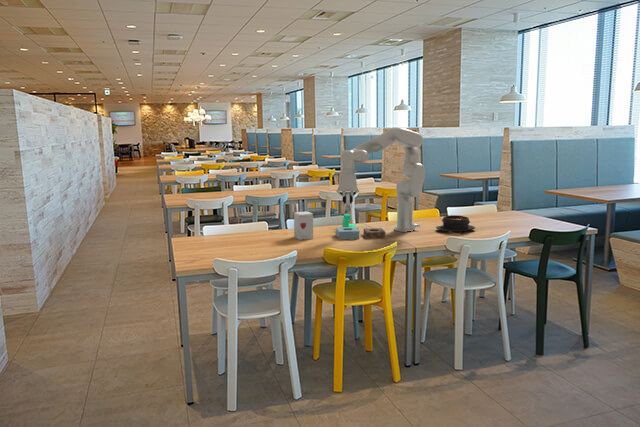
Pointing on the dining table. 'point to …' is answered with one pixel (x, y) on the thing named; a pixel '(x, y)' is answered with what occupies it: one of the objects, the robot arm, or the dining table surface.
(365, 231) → the walnut mount block
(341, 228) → the socket block
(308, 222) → the supplement box
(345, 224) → the camera mount
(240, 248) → the dining table surface
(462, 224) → the casserole
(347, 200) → the steel pin
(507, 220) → the dining table surface
